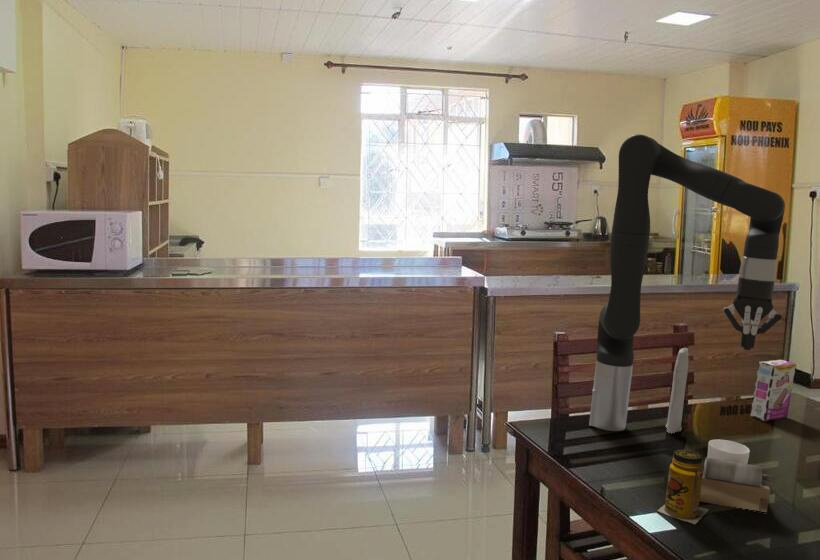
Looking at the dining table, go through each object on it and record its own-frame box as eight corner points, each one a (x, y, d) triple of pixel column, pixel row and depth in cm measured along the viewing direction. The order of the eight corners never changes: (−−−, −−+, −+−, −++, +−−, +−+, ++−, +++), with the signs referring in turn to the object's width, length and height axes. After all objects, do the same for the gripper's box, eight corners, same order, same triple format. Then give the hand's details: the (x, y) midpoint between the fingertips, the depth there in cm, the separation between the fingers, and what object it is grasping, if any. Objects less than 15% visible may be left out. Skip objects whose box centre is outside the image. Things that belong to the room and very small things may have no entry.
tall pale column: (669, 421, 188) (679, 343, 185) (685, 425, 186) (695, 346, 183) (661, 432, 179) (671, 350, 176) (677, 436, 177) (688, 353, 174)
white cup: (741, 488, 148) (747, 443, 146) (745, 503, 140) (752, 456, 139) (701, 480, 150) (707, 436, 149) (703, 494, 143) (710, 449, 141)
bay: (683, 468, 156) (688, 430, 155) (752, 480, 152) (758, 441, 151) (691, 502, 139) (697, 459, 138) (770, 516, 135) (776, 473, 134)
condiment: (656, 511, 134) (664, 453, 132) (671, 498, 140) (679, 442, 138) (694, 525, 129) (703, 465, 127) (708, 511, 135) (717, 453, 134)
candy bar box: (765, 422, 194) (774, 366, 192) (749, 416, 198) (757, 361, 196) (788, 417, 200) (797, 363, 197) (772, 412, 204) (780, 358, 202)
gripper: (728, 275, 159) (718, 348, 161) (791, 282, 155) (780, 356, 157) (724, 272, 166) (714, 342, 168) (784, 278, 162) (774, 350, 164)
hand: (746, 349), depth 163 cm, fingers closed
